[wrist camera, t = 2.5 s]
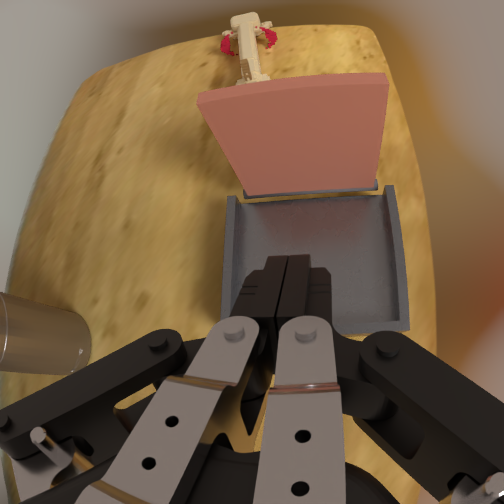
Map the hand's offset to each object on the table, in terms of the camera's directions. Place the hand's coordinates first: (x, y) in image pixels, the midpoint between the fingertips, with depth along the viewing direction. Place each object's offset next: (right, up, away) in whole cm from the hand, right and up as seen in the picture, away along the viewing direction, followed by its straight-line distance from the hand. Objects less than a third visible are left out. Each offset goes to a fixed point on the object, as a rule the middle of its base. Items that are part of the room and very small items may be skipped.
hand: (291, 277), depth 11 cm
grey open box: (+5, -1, +21) cm, 22 cm away
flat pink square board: (+5, +8, +20) cm, 22 cm away
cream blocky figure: (-1, +34, +35) cm, 49 cm away
